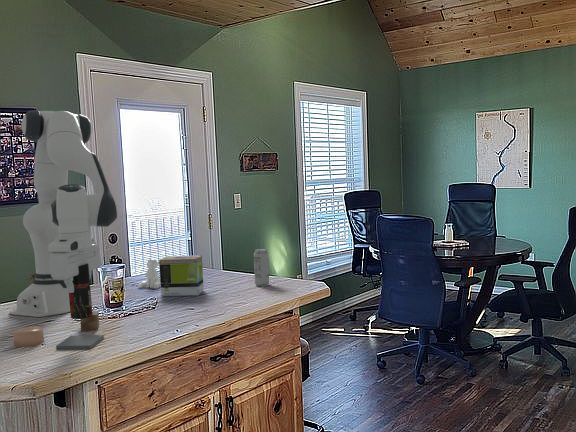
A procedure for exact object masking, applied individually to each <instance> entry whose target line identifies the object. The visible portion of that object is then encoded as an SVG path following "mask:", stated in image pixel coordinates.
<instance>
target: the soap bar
mask: <svg viewBox="0 0 576 432" xmlns="http://www.w3.org/2000/svg"><path fill="white" fill-rule="evenodd" d="M12 334H13V346H14V347H16V348H30V347H36V346H39V345H41V344H43V343H44V342H45V336H44V335H45V334H44V327H42V326H36V325H35V326H25V327H20V328H18V329H15V330H14V331H13V332H12Z"/></svg>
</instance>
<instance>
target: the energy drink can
mask: <svg viewBox="0 0 576 432" xmlns="http://www.w3.org/2000/svg"><path fill="white" fill-rule="evenodd" d="M269 262H270V261H269V252H268V251H267V248H256V249H254V253H253V267H254V269H253V270H254V272H253V273H254V284H255V286H256V287H267V286H269V284H270V269H269V268H270V265H269Z"/></svg>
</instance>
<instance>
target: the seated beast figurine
mask: <svg viewBox="0 0 576 432" xmlns="http://www.w3.org/2000/svg"><path fill="white" fill-rule="evenodd" d="M146 266H147V270H146V273H145V276H146V279H145V280H143V281H141V282H139V283H138V284H137V288H138V289H143V288H145V289H146V288H149V287H150V288H151V289H155V290H156V289H159V288H160V286H161V285H160V275H158V274H159V273H158V270H157V268H158V266H159V261H158V260H157V259H154V258H149V259H147V263H146ZM150 288H149V289H150Z"/></svg>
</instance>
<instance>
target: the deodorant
mask: <svg viewBox="0 0 576 432" xmlns="http://www.w3.org/2000/svg"><path fill="white" fill-rule="evenodd" d="M78 269H79V274H78V275H77V276H74V277H73V281H72V282H73V285H74V286H76V291H75V292H73V293H69V302H70V319H71V320H80V319H83V318H88V317H91V316H92V315H93V314H92V311H93V305H92V302H93V301H92V293H91V292H92V291H91V281H90V280H91V278H90V277H89V265H88V263H87V264H84V265H81V266H78Z"/></svg>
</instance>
